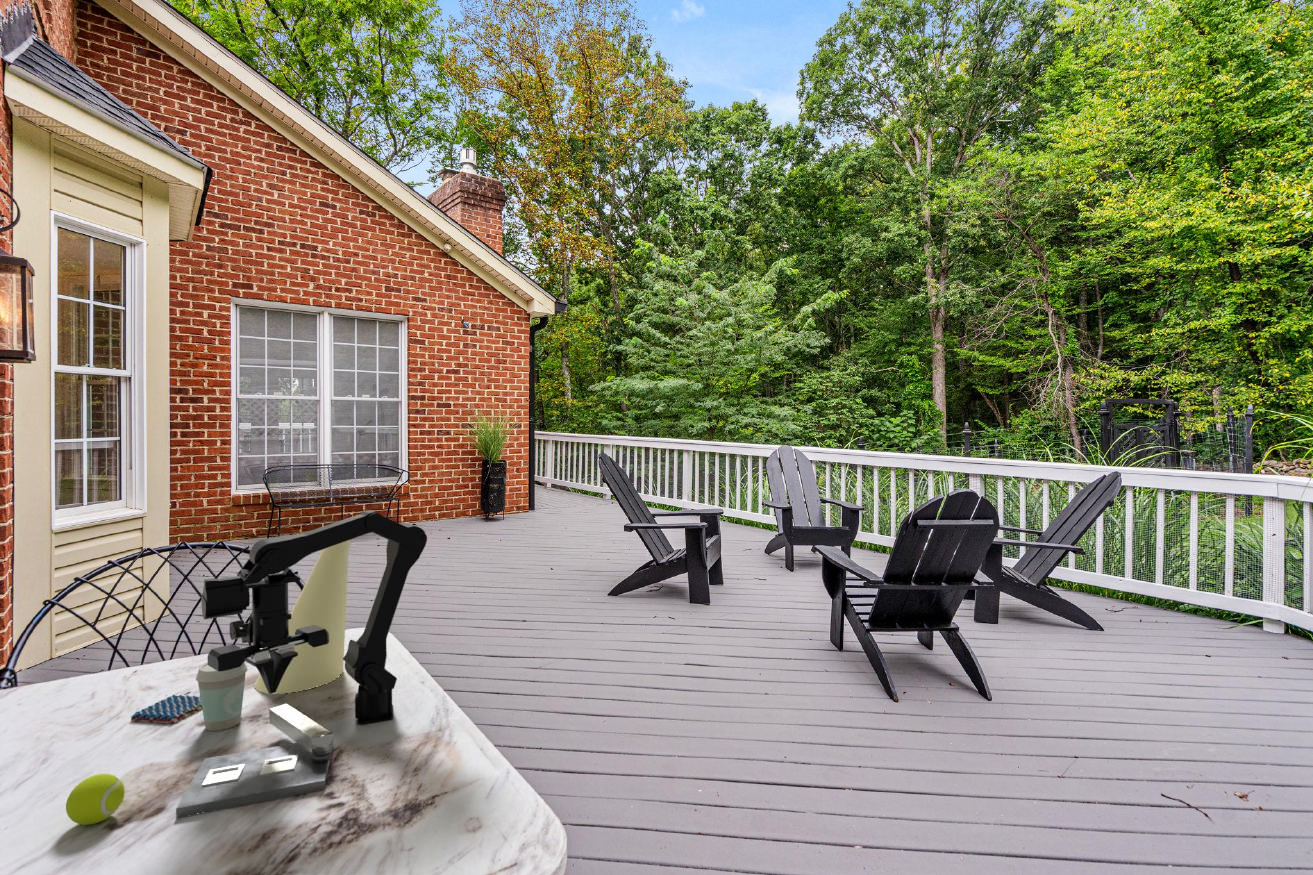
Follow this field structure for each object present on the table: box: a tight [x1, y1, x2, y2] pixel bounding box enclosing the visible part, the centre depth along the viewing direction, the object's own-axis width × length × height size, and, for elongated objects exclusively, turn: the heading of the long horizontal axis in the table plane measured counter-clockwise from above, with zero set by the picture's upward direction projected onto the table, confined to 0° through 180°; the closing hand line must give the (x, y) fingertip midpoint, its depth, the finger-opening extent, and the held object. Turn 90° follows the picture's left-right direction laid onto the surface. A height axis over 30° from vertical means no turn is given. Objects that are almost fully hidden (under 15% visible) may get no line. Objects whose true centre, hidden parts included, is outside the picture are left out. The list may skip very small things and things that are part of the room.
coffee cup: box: [195, 661, 248, 732], centre depth 129 cm, size 8×8×12 cm
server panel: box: [175, 742, 334, 819], centre depth 110 cm, size 21×16×2 cm
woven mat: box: [130, 694, 202, 724], centre depth 136 cm, size 10×11×2 cm
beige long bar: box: [268, 703, 334, 756], centre depth 118 cm, size 21×3×3 cm, turn 50°
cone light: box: [254, 540, 352, 695], centre depth 152 cm, size 25×18×35 cm
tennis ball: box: [65, 773, 125, 826], centre depth 98 cm, size 7×7×7 cm
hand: (271, 692), depth 120 cm, fingers closed
